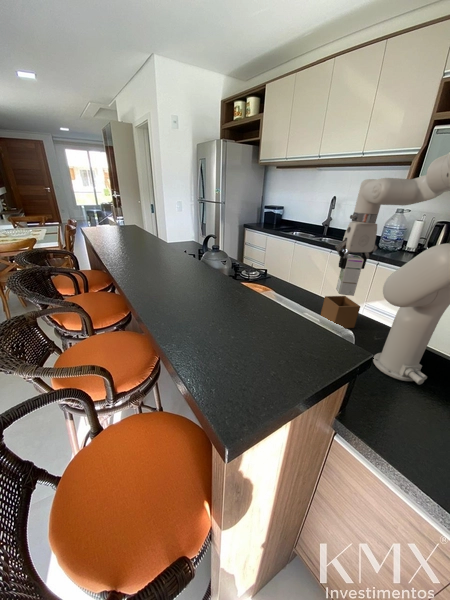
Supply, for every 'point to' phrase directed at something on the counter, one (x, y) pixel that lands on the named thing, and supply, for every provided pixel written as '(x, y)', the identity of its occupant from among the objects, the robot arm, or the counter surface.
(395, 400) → the counter surface
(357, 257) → the syrup box
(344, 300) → the brown open bin
